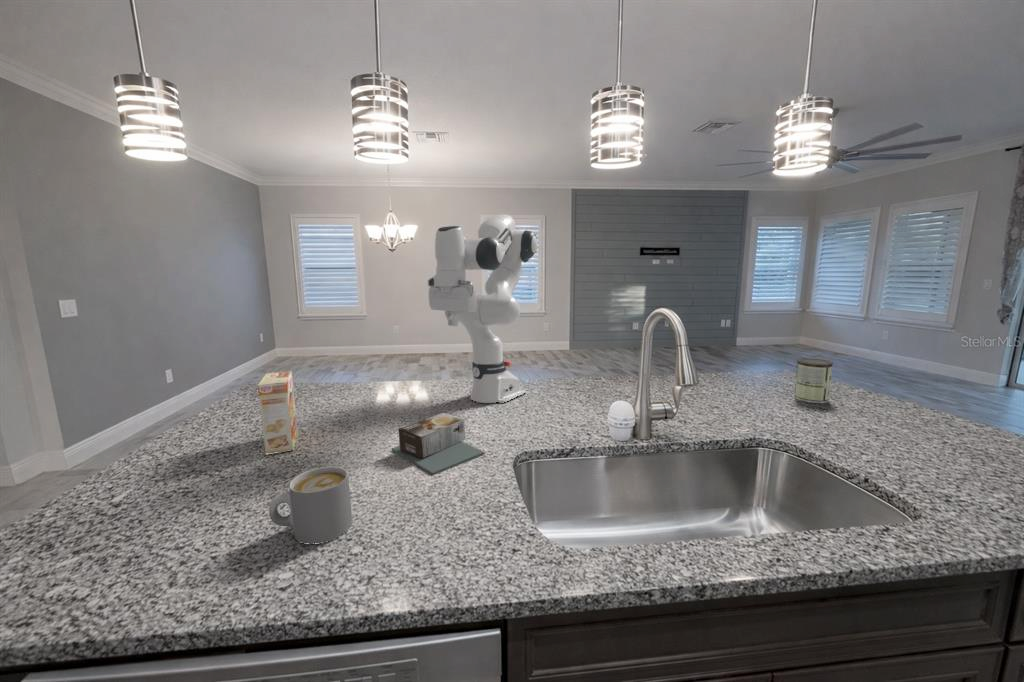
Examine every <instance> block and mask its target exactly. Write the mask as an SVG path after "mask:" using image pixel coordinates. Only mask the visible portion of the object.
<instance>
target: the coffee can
mask: <svg viewBox="0 0 1024 682" xmlns="http://www.w3.org/2000/svg"><path fill="white" fill-rule="evenodd" d="M796 363H797V367H796V379H795V387H794V399H796V400H798V401H801V402H806V403H810V404H811V403H813V404H827V403H828V402H829V401H830V400H829V399H830V391H831V390H830V389H831V380H832V369H833V365H834V362H833V361H830V360H827V359H820V358H809V357H807V358H806V357H805V358H798V359H797V362H796Z"/></svg>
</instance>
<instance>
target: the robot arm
mask: <svg viewBox="0 0 1024 682" xmlns="http://www.w3.org/2000/svg"><path fill="white" fill-rule="evenodd" d="M516 228H517V226H516V222H515V219H514V218H513V217H512V216H511V215H509V214H506V213H501V214H500V213H499V214H496V215H493V216H491V217H489V218H487V219H486V220H485V221H483V222H482V223H481V224H480V226H479V228H478V231H477V236H478V238H467V237H465V236H464V233H463V228H462V227H461V226H459V225H449V226H441V227H439V228H438V229H437V230H436V234H435V238H434V239H435V242H434V251H435V252H434V254H435V259H436V268H435V273H436V274H435V275H433V276H432V277H431V278H429V279H427V287H429V288H428V305H429V307H430V309H431V310H432V311H443V312H444V315H445V317H446V320H447V326H451V327H458V326H459V323H461V324H462V325H463V326H464V328H465V329H466V331H467V333H468V335H469V337H470V340H471V345H472V346H471V347H472V359H473V360H472V364H471V365H472V366H471V371H472V376H473V377H472V378H473V379H472V386H471V393H470V397H469V399H470V400H471V401H472V400H473V401H472V402H475V401H476V403H481V404H495V403H496V402H499V404H505V403H504V402H506V403H508V402H507V401H509V400H511V399H513V398H515V397H517V396H519V395H521V394H523V393H525V392H526V393H527V391H526V390H525V389H524V388H521V384H520V380H519V378H518V377H517V376H516V375H514V374H513V373H512V372H510V371H508V369H507V367H509V368H510V367H511V366H512V362H511V361H510V360H506V361H504V360H503V358H504V357H503V343H502V339H501V338H500V337H499V336H498V335H496V334H494V333H493V332H492V331H491V328H490V326H498V327H499V326H502V327H504V326H509V325H514V324H516V322H517V321H518V319H519V318H520V315H521V306H520V303H519V302H518V300H517V299H516V297H513V293H514V291H515V289H516V287H517V285H518V283H519V281H520V278H521V275H522V274H521V273H522V270H523V269H522V268H523V267H522V263H524V264H525V263H528V262H529V260H531V258H533V257H534V255H535V254H536V252H537V249H538V245H539V244H538V237H537V235H536V234H535V232H534V231H531V230H527V229H526V230H522V229H516ZM467 270H469V271H471V270H477V271H478V270H485V271H486V270H487V271H491V273H490V275H489V277H488V278H487V280H486V281H485V284H484V285H485V286H484V287H485V289H484V290H485V292H486V294H487V295H484V294H483V295H482V294H481V295H480V294H479V295H478V294H477V295H476V290H475V288H474V284H473V283H472V282H471V281H470V280H467V279H466V275H467V274H466V271H467ZM515 399H516V398H515ZM513 400H514V399H513ZM511 401H512V400H511ZM509 402H510V401H509ZM496 404H497V403H496Z"/></svg>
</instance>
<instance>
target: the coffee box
mask: <svg viewBox="0 0 1024 682" xmlns="http://www.w3.org/2000/svg"><path fill="white" fill-rule="evenodd" d="M465 422H466V421H465V418H463V417H459V416H455V415H453V414H450V413H449V414H448V413H445V412H440V413H438V414H436V415H433V416H430V417H427V418H424V419H422V420H419V421H417V422H414V423H411V424H408V425H405V426H403V427H401V428H398V440H399V446H400V451H402V452H405V453H407V454H410V455H412V456H415V457H417V458H419V459H424V458H426V457H428V456H430V455H432V454H435V453H437V452H439V451H441V450H443V449H445V448H448V447H450V446H452V445H454V444H456V443H458V442H461V441H462V442H464V440H466V427H465V426H466V425H465Z"/></svg>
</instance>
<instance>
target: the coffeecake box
mask: <svg viewBox="0 0 1024 682" xmlns="http://www.w3.org/2000/svg"><path fill="white" fill-rule="evenodd" d="M292 372H293V371H291V370H290V371H289V370H288V371H278V372H277V371H276V372H266V373H265V375H264V376H263V377H262V379H261V380H260V381H259V383H258V384H257V390H258V401H259V406H260V407H259V408H260V415H261V424H262V425H261V427H262V435H263V444H264V451H265V454H266V453H275V452H284V451H289V450H294V451H295V448H296V444H295V443H297V439H296V438H298V435H297V432H298V424H297V413H296V412H297V411H296V405H295V404H296V402H295V391H294V384H293V383H294V382H293V373H292ZM294 447H295V448H294Z"/></svg>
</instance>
